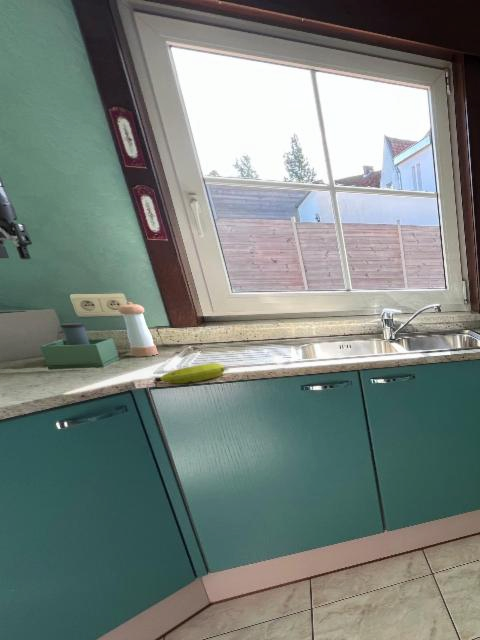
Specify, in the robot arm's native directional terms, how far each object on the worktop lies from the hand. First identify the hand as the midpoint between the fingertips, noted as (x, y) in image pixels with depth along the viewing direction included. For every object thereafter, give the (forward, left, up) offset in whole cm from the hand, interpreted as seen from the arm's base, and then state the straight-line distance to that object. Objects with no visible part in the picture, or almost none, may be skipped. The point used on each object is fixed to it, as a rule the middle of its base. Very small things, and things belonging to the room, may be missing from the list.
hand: (15, 258), depth 156 cm
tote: (+11, -8, -33) cm, 36 cm away
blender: (+11, -8, -33) cm, 35 cm away
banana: (+47, -40, -33) cm, 71 cm away
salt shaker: (+23, +6, -33) cm, 41 cm away
